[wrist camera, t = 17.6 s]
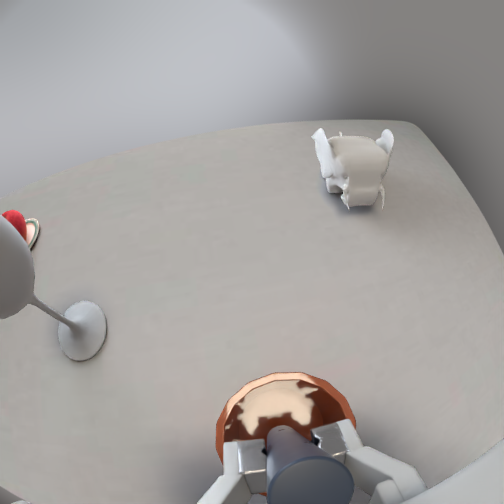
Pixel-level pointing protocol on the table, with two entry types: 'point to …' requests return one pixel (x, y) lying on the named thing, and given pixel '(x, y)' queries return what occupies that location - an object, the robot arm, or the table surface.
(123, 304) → the table surface
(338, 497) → the rod
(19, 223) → the apple
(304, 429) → the cup
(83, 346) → the wineglass
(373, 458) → the robot arm
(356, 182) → the elephant figurine
